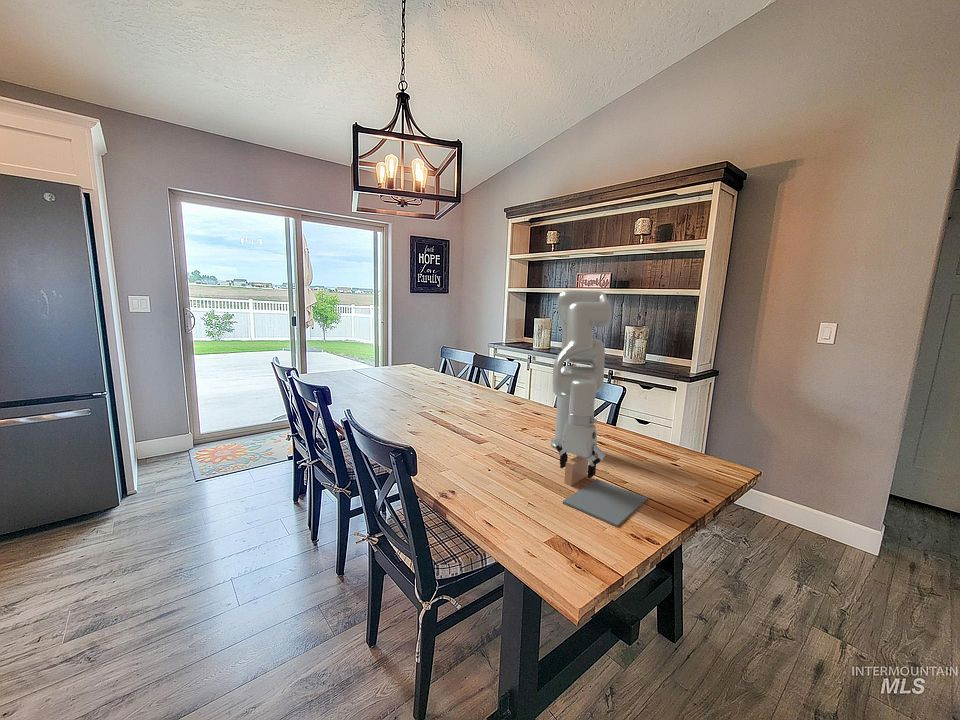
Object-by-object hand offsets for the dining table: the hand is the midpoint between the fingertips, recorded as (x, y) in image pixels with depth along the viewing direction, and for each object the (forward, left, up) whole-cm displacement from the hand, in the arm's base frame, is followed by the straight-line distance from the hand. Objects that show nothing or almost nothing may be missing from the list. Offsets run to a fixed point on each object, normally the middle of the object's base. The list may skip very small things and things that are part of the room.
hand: (576, 471), depth 124 cm
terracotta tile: (0, 0, -3) cm, 3 cm away
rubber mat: (+6, +13, -3) cm, 14 cm away
